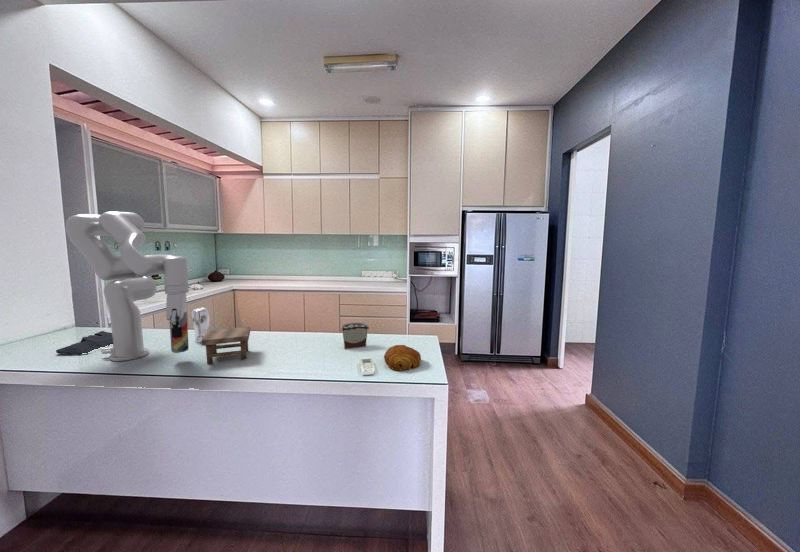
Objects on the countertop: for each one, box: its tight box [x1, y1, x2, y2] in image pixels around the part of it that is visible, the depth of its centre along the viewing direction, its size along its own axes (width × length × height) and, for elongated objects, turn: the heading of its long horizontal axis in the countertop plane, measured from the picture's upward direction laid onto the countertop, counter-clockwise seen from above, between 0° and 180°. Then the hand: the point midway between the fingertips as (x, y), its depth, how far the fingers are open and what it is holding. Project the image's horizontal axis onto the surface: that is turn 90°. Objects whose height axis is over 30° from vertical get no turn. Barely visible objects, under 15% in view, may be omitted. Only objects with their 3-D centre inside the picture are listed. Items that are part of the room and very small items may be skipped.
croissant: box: [383, 344, 422, 372], centre depth 130 cm, size 14×16×8 cm
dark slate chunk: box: [55, 330, 113, 355], centre depth 148 cm, size 15×22×5 cm
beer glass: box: [191, 307, 210, 344], centre depth 156 cm, size 7×7×15 cm
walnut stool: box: [201, 326, 251, 365], centre depth 136 cm, size 16×14×10 cm
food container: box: [340, 322, 370, 350], centre depth 151 cm, size 12×6×10 cm, turn 108°
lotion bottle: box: [169, 311, 190, 354], centre depth 130 cm, size 6×6×20 cm
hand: (179, 334), depth 130 cm, fingers closed on lotion bottle, 5 cm apart
